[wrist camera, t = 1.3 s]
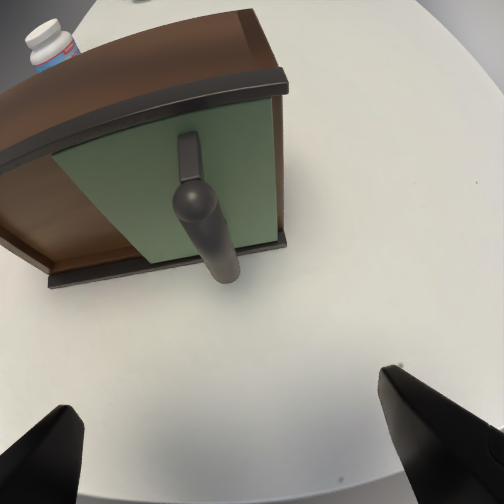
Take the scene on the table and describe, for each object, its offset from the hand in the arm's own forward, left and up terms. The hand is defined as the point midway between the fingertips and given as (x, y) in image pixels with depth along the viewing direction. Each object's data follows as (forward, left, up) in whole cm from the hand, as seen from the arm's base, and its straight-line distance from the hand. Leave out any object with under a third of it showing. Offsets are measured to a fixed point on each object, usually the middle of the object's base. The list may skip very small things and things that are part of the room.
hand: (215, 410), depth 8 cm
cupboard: (+12, +10, -13) cm, 20 cm away
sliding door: (+8, +4, -12) cm, 15 cm away
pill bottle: (+30, +29, -13) cm, 44 cm away
